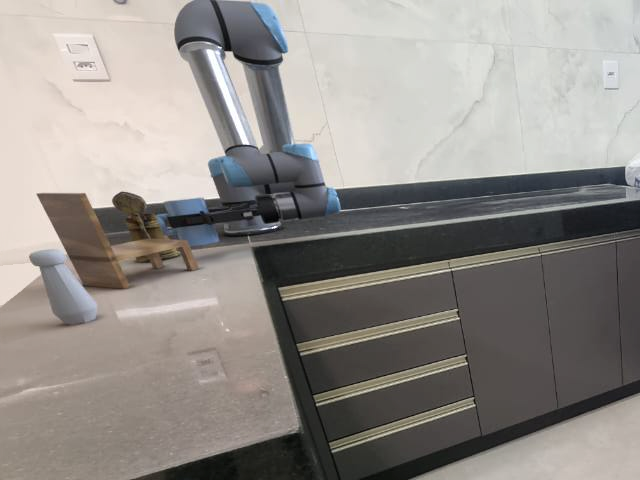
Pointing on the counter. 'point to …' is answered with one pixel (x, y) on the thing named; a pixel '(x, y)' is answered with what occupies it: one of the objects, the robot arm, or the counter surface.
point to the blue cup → (190, 233)
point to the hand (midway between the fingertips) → (170, 220)
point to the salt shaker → (64, 288)
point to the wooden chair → (100, 242)
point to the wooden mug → (141, 222)
